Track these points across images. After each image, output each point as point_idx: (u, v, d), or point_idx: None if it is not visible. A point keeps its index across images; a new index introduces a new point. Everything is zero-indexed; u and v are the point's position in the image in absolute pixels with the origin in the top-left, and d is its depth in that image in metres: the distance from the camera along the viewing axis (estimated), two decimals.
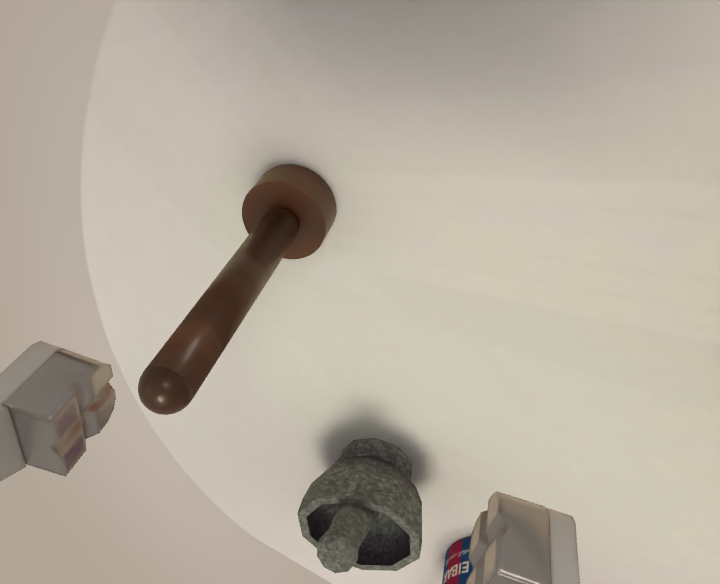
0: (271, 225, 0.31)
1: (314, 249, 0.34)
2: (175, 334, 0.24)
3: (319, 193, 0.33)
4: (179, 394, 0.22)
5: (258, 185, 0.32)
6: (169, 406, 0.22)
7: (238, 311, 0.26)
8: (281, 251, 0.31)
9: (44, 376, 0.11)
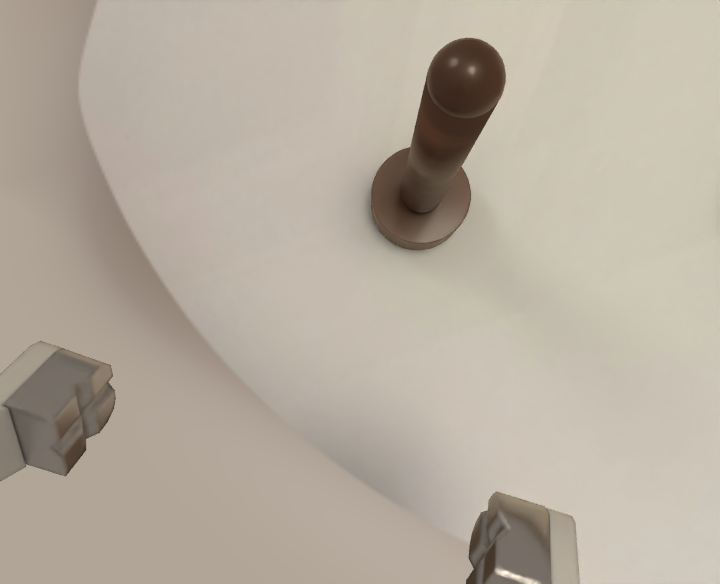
0: None
1: (460, 169, 0.30)
2: (421, 114, 0.18)
3: None
4: None
5: (373, 207, 0.30)
6: (477, 44, 0.15)
7: None
8: None
9: (44, 376, 0.11)
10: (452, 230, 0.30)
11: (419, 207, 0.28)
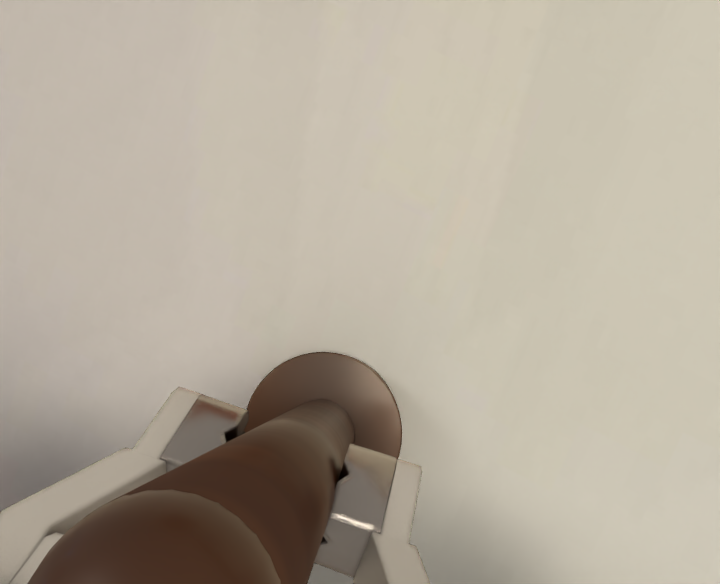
0: None
1: (381, 385, 0.19)
2: None
3: None
4: (119, 528, 0.04)
5: None
6: None
7: (260, 429, 0.10)
8: (312, 405, 0.15)
9: (193, 426, 0.10)
10: None
11: None
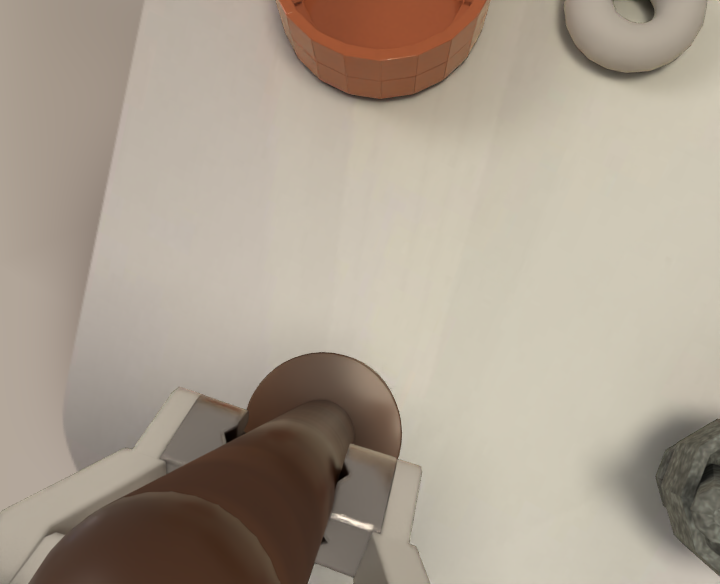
0: None
1: (381, 385, 0.19)
2: None
3: None
4: (119, 531, 0.04)
5: None
6: None
7: (261, 429, 0.10)
8: (312, 405, 0.15)
9: (193, 426, 0.10)
10: None
11: None
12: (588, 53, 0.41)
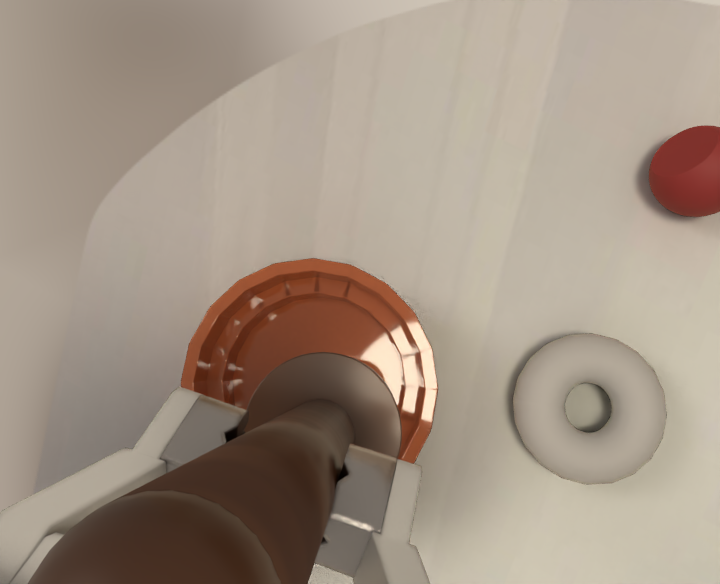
0: None
1: (381, 385, 0.19)
2: None
3: None
4: (119, 529, 0.04)
5: None
6: None
7: (260, 428, 0.10)
8: (312, 405, 0.15)
9: (193, 426, 0.10)
10: None
11: None
12: (538, 461, 0.38)
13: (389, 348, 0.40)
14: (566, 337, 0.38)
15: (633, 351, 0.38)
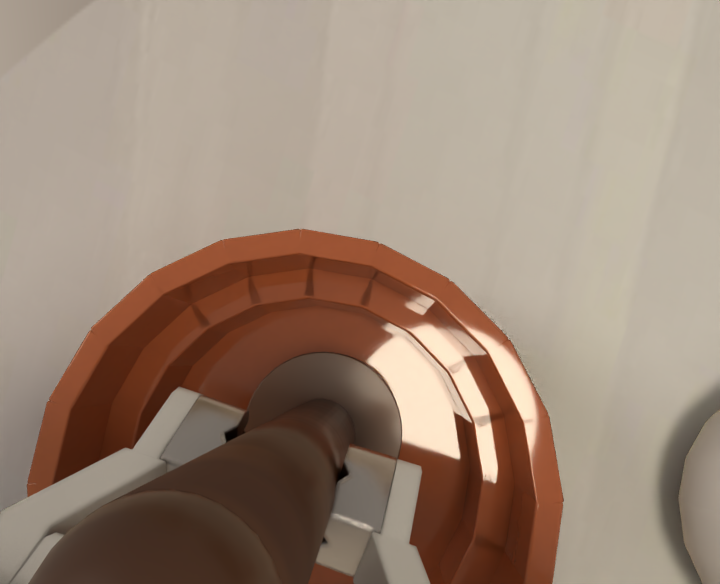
0: None
1: (382, 384, 0.19)
2: None
3: None
4: (121, 528, 0.04)
5: None
6: None
7: (261, 428, 0.10)
8: (312, 404, 0.15)
9: (193, 426, 0.10)
10: None
11: None
12: None
13: (443, 399, 0.22)
14: None
15: None
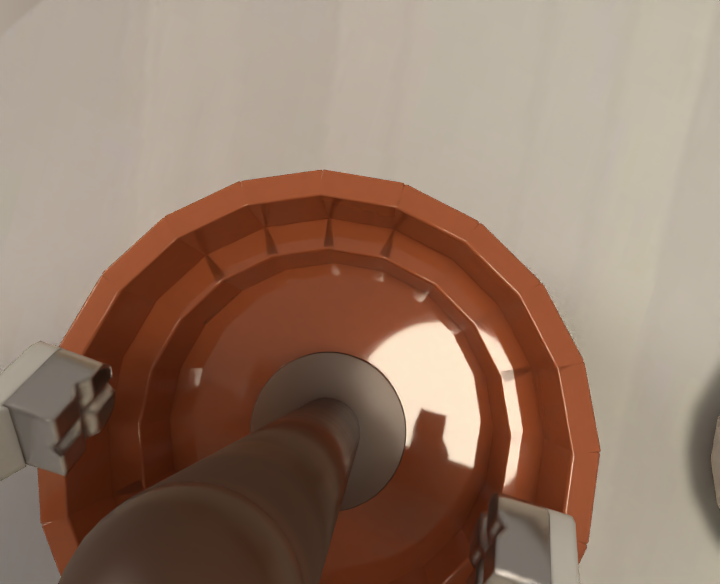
0: None
1: (386, 384, 0.19)
2: None
3: None
4: (151, 517, 0.05)
5: None
6: (160, 577, 0.04)
7: (272, 426, 0.10)
8: (319, 403, 0.16)
9: (44, 376, 0.11)
10: (382, 485, 0.18)
11: None
12: None
13: (465, 358, 0.21)
14: None
15: None
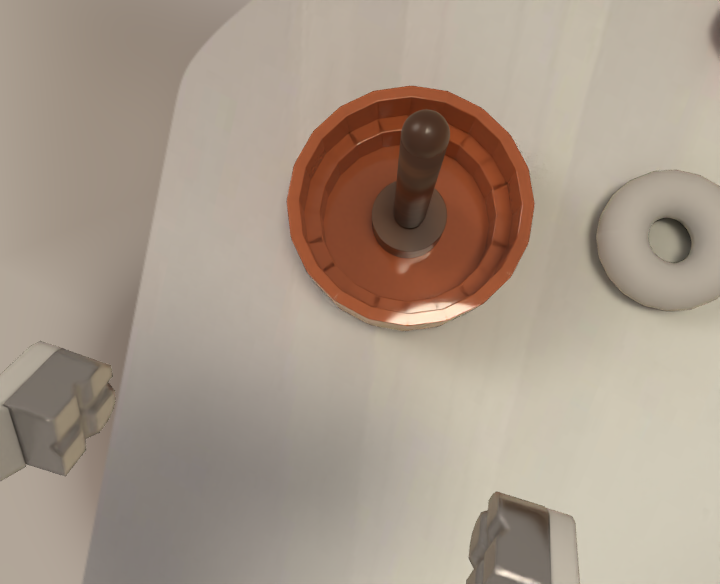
0: None
1: (437, 193, 0.39)
2: (400, 158, 0.27)
3: None
4: None
5: (374, 227, 0.39)
6: (429, 113, 0.25)
7: None
8: None
9: (44, 376, 0.11)
10: (436, 239, 0.39)
11: (408, 224, 0.37)
12: (622, 291, 0.39)
13: (474, 191, 0.42)
14: (648, 173, 0.40)
15: (714, 183, 0.39)
